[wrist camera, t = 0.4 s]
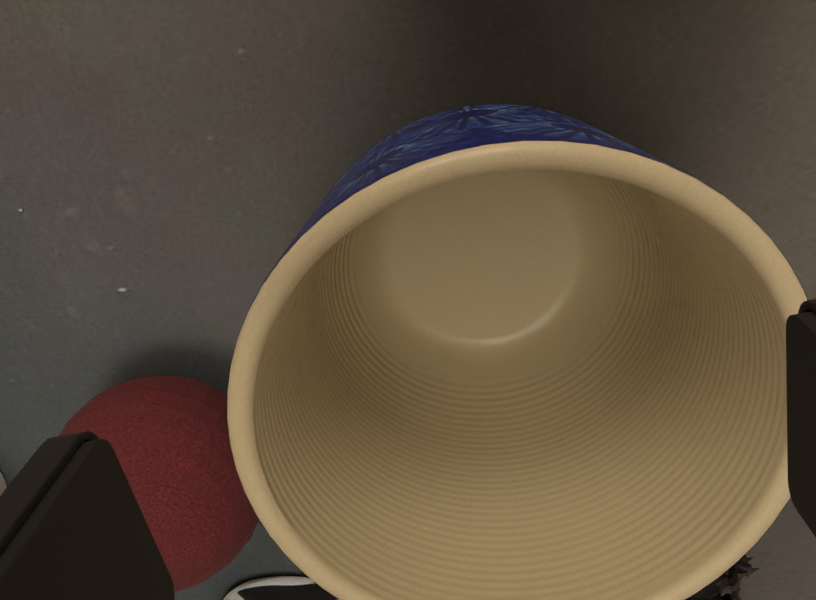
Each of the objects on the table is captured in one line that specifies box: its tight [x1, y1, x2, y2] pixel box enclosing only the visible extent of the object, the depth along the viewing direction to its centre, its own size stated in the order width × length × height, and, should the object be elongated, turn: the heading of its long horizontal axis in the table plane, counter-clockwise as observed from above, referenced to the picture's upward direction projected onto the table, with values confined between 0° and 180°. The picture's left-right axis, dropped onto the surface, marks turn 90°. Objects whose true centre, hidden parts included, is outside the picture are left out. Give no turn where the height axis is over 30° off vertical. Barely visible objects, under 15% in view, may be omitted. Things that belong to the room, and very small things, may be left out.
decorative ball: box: [59, 375, 259, 592], centre depth 35 cm, size 10×10×10 cm
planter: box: [227, 104, 807, 600], centre depth 28 cm, size 17×17×15 cm
